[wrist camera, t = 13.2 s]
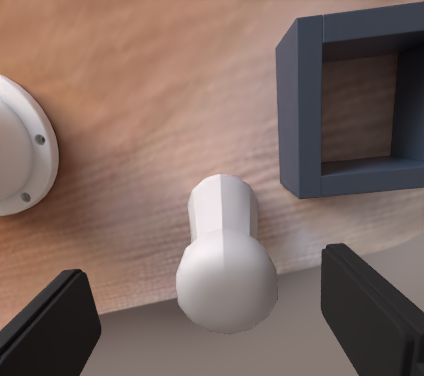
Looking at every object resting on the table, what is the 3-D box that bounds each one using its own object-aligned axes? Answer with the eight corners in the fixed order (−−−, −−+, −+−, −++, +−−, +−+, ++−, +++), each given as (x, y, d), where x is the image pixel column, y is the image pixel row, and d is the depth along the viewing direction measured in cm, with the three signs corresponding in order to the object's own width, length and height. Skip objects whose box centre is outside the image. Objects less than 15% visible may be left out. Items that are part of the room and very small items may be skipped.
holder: (280, 183, 21) (299, 199, 16) (275, 47, 18) (296, 17, 13) (406, 171, 20) (465, 184, 15) (420, 29, 17) (498, -9, 13)
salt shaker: (266, 192, 21) (339, 287, 8) (230, 239, 22) (246, 383, 10) (213, 156, 20) (205, 201, 8) (179, 207, 22) (124, 317, 9)
